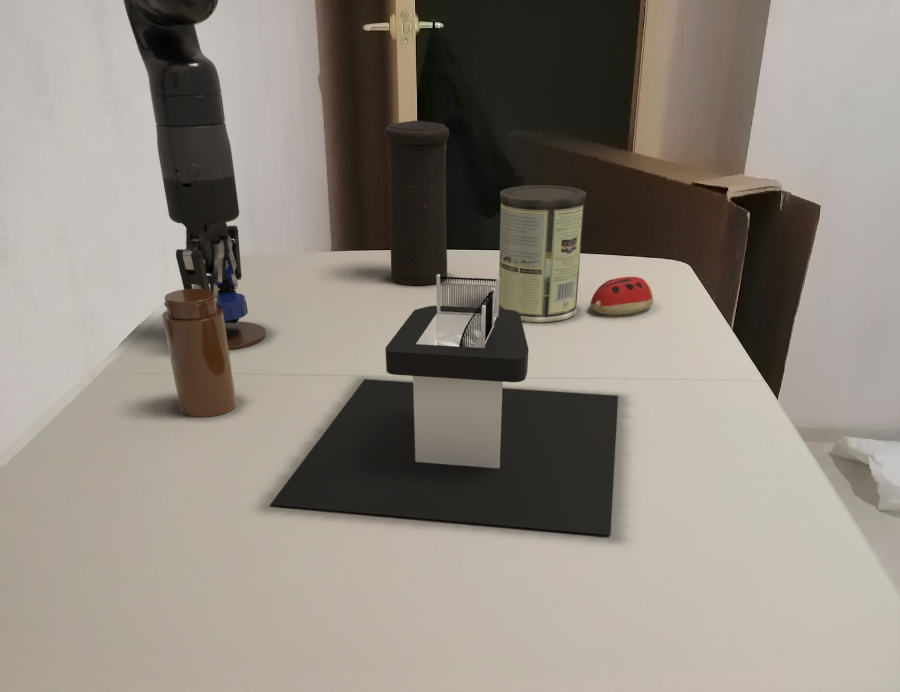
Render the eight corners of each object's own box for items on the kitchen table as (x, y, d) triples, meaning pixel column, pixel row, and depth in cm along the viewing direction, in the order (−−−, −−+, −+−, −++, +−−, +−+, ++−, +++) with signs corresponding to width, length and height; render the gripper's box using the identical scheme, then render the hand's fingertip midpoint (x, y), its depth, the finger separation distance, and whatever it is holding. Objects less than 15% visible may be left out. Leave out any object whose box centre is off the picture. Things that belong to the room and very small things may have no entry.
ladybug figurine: (664, 307, 111) (668, 278, 109) (618, 322, 105) (621, 293, 103) (622, 296, 115) (625, 269, 113) (576, 311, 109) (578, 283, 107)
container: (455, 272, 125) (456, 118, 114) (441, 288, 118) (440, 125, 107) (399, 269, 127) (394, 116, 116) (382, 284, 120) (375, 123, 108)
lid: (254, 308, 101) (251, 292, 100) (237, 322, 96) (234, 305, 95) (208, 308, 102) (205, 292, 101) (189, 322, 97) (186, 305, 96)
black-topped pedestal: (610, 536, 62) (632, 357, 54) (270, 506, 66) (246, 334, 58) (618, 396, 84) (634, 256, 77) (364, 380, 88) (356, 245, 81)
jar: (173, 416, 80) (150, 303, 74) (188, 395, 85) (168, 287, 79) (229, 417, 80) (211, 303, 74) (242, 396, 85) (226, 287, 79)
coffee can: (513, 296, 115) (518, 182, 107) (586, 305, 111) (597, 188, 103) (484, 316, 107) (486, 195, 99) (561, 327, 103) (570, 201, 95)
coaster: (167, 349, 97) (167, 346, 96) (196, 323, 105) (196, 320, 105) (253, 352, 96) (252, 348, 96) (275, 325, 104) (275, 322, 104)
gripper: (188, 161, 96) (211, 311, 106) (137, 181, 85) (168, 348, 94) (252, 162, 96) (269, 313, 105) (209, 183, 84) (233, 350, 94)
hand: (221, 329), depth 100 cm, fingers closed on lid, 5 cm apart
